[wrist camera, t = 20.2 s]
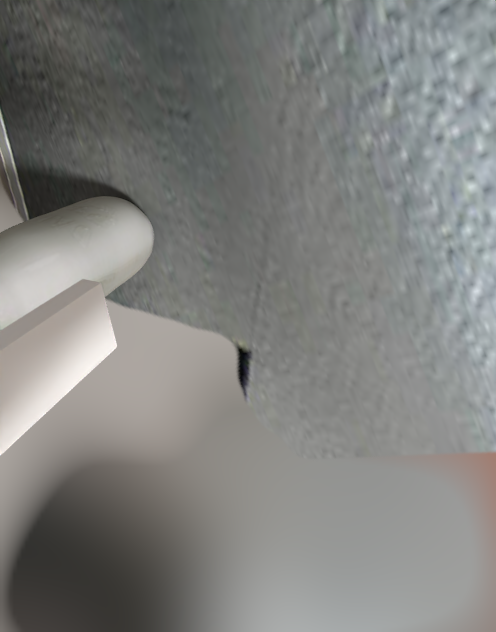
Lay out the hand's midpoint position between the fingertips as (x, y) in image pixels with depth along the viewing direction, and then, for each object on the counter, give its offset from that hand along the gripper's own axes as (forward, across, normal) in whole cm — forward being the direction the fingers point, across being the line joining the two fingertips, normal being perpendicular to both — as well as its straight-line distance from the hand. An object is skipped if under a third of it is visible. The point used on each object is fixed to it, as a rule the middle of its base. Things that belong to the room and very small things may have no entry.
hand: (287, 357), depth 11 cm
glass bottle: (+31, -29, -10) cm, 43 cm away
